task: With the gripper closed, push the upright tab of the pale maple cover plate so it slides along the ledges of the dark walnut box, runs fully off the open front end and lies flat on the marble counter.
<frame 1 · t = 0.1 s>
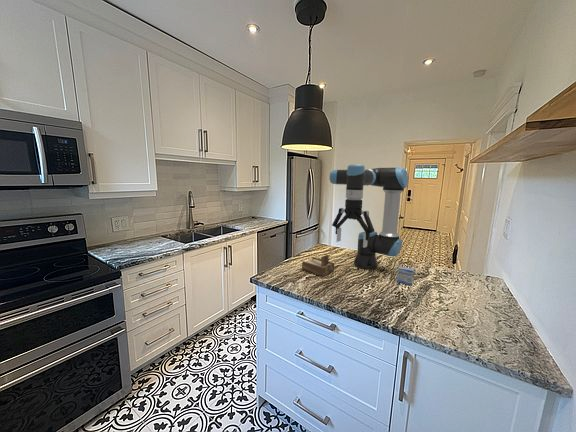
hand: (351, 244, 115), 28 cm above the worktop, fingers open, 13 cm apart
cover plate: (318, 264, 154), point 4 cm above the worktop, touching walnut box
walnut box: (317, 270, 155), on the worktop
medicine box: (404, 282, 139), on the worktop
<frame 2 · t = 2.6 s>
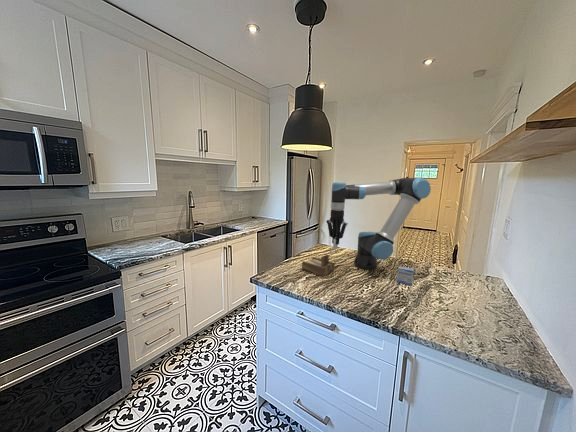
hand: (335, 249, 144), 17 cm above the worktop, fingers closed
nothing on the worktop moved.
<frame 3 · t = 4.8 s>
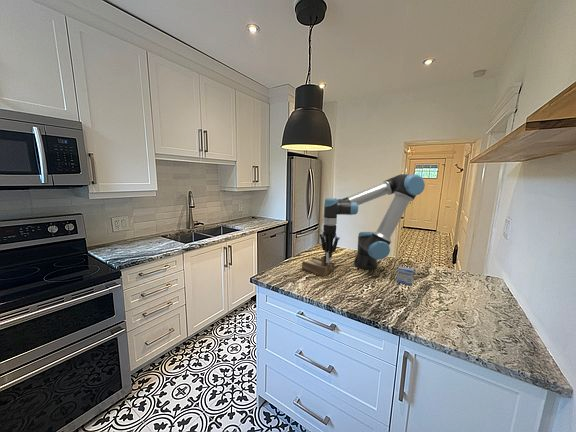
hand: (328, 262, 148), 7 cm above the worktop, fingers closed
cover plate: (318, 264, 154), point 4 cm above the worktop, touching gripper
everything else where it was.
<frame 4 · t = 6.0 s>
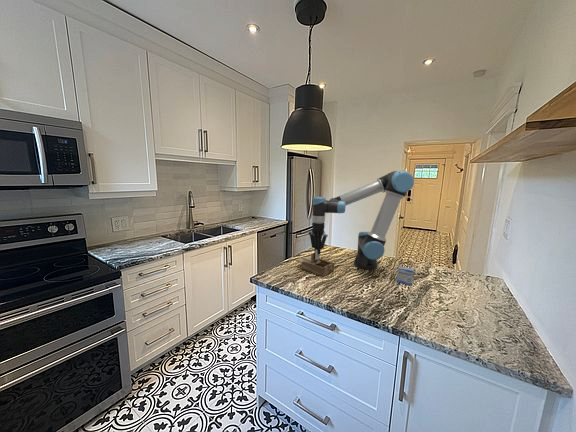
hand: (317, 259, 153), 8 cm above the worktop, fingers closed
cover plate: (308, 261, 159), point 4 cm above the worktop, touching gripper
everything else where it was.
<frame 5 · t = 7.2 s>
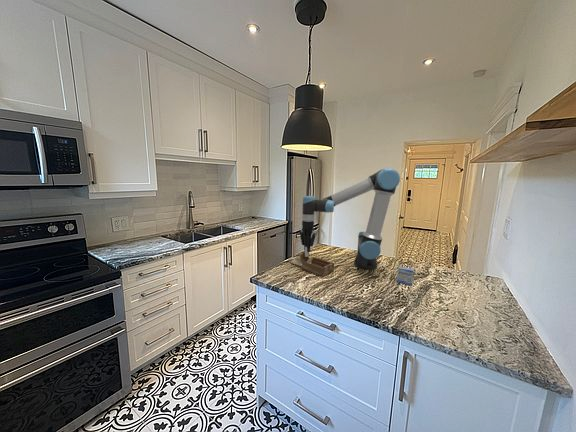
hand: (306, 256, 159), 8 cm above the worktop, fingers closed
cover plate: (300, 261, 165), point 2 cm above the worktop, tilted 18°, touching gripper
everything else where it was.
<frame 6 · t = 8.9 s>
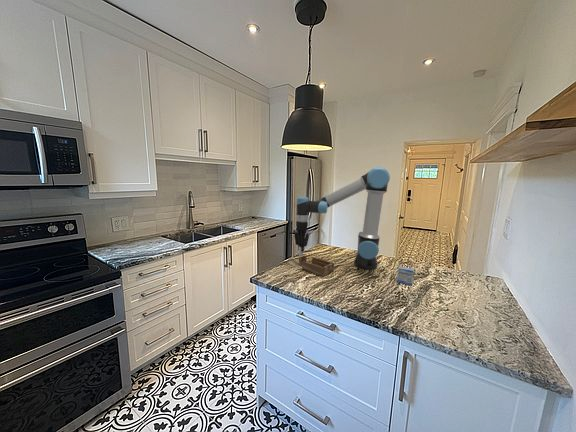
hand: (300, 255, 162), 7 cm above the worktop, fingers closed
cover plate: (297, 264, 167), on the worktop, touching gripper
everything else where it was.
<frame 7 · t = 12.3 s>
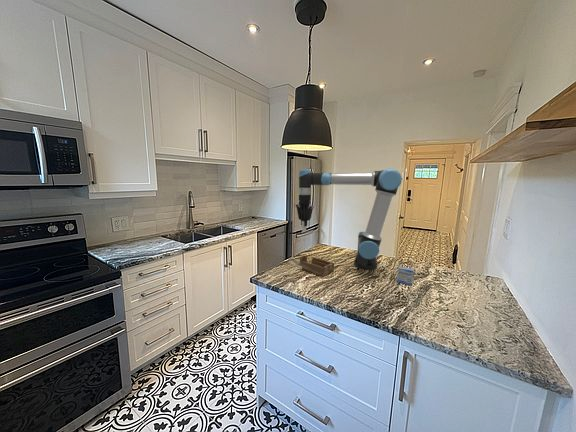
hand: (303, 230, 158), 24 cm above the worktop, fingers closed
cover plate: (297, 264, 166), on the worktop
everything else where it was.
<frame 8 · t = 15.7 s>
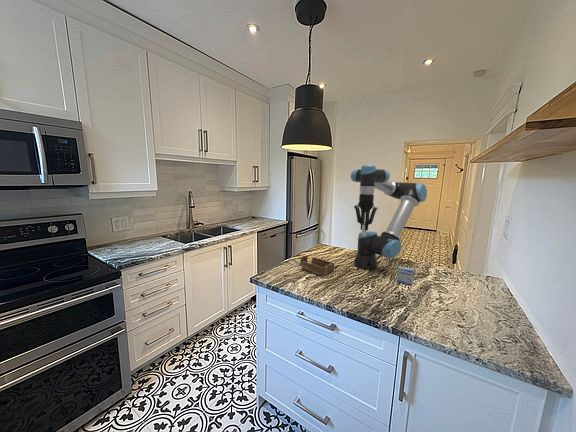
hand: (363, 235, 137), 26 cm above the worktop, fingers closed
nothing on the worktop moved.
at the end: cover plate inside the target area (5.5 cm from its centre), on the worktop; cover plate tilted 0° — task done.
